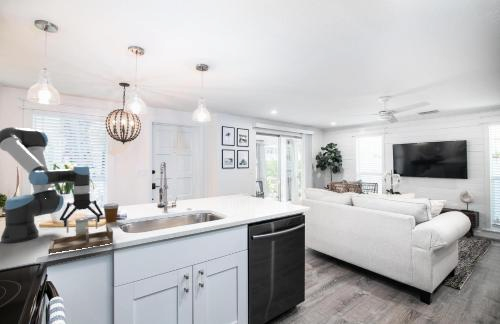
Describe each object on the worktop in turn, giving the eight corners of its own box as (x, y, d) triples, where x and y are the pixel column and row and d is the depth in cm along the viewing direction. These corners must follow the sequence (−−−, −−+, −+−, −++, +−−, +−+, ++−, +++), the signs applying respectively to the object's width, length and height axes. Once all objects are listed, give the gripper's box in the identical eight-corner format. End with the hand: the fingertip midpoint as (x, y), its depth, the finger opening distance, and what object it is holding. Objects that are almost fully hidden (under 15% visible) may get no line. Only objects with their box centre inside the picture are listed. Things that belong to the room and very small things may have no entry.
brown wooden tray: (48, 255, 112) (48, 240, 112) (51, 244, 126) (51, 231, 125) (112, 244, 127) (112, 231, 127) (109, 235, 141) (109, 223, 140)
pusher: (86, 245, 121) (86, 234, 121) (85, 237, 133) (85, 227, 132) (88, 245, 122) (88, 234, 122) (88, 237, 133) (88, 227, 133)
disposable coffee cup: (101, 223, 164) (101, 206, 164) (105, 220, 174) (105, 203, 173) (116, 223, 167) (116, 205, 167) (120, 219, 176) (120, 203, 176)
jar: (75, 238, 135) (75, 221, 135) (75, 235, 140) (75, 218, 140) (89, 236, 139) (88, 219, 138) (88, 233, 144) (88, 217, 144)
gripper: (53, 195, 128) (54, 235, 129) (107, 191, 143) (108, 227, 143) (54, 194, 135) (55, 232, 135) (106, 190, 149) (107, 224, 149)
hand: (82, 230), depth 139 cm, fingers open, 13 cm apart
